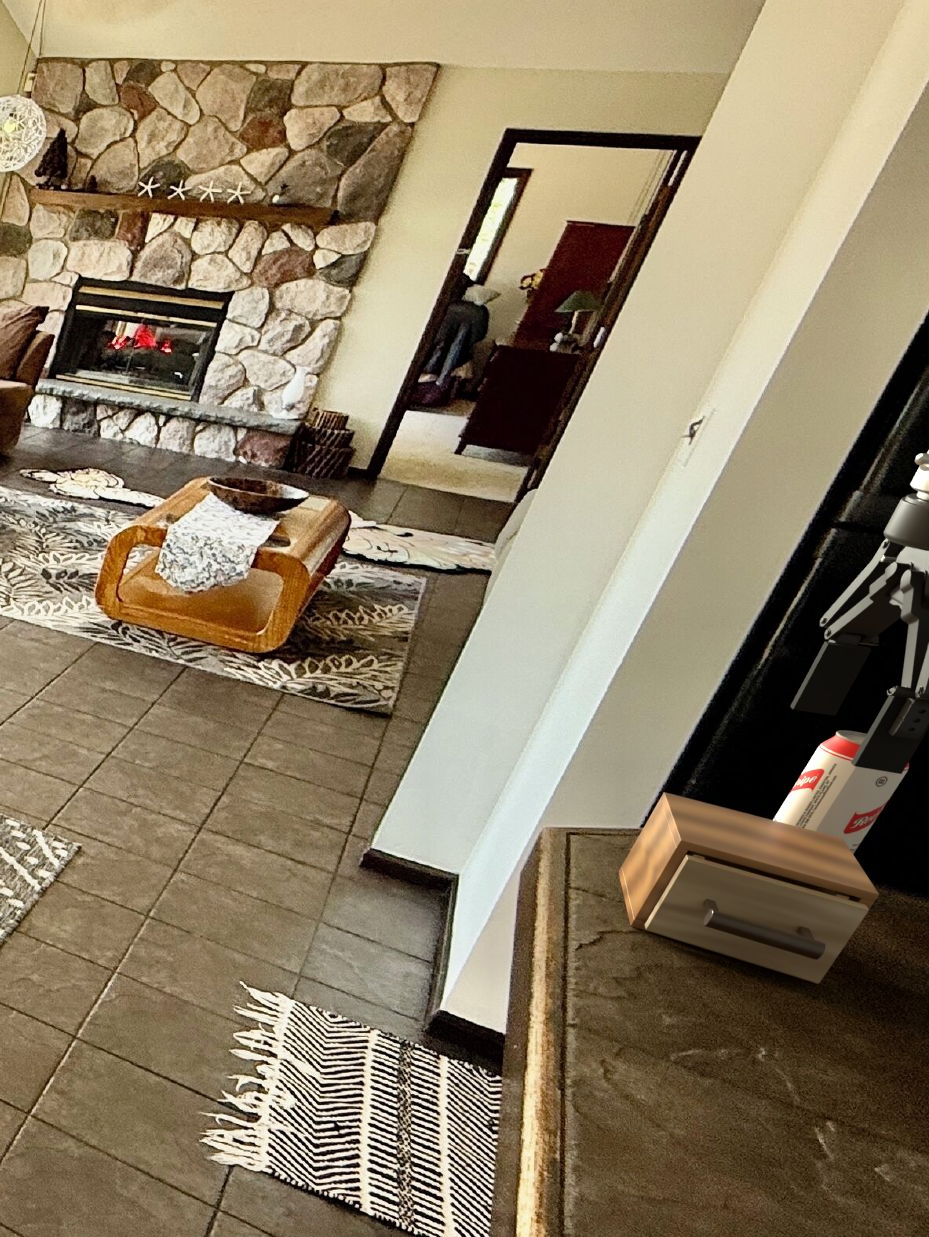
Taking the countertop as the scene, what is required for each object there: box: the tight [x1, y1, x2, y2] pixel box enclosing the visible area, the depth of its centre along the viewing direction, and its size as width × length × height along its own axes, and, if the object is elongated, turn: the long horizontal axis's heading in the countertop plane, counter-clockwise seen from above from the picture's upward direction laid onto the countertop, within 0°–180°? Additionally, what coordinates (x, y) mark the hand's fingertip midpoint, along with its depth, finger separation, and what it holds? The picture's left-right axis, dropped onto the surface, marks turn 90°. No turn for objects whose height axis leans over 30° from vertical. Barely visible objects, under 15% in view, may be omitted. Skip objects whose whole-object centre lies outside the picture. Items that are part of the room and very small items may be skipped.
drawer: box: [645, 850, 870, 984], centre depth 109 cm, size 18×11×8 cm, turn 139°
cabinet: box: [618, 792, 880, 985], centre depth 112 cm, size 15×13×10 cm
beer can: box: [772, 730, 910, 855], centre depth 122 cm, size 6×6×16 cm
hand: (842, 738), depth 103 cm, fingers open, 13 cm apart
